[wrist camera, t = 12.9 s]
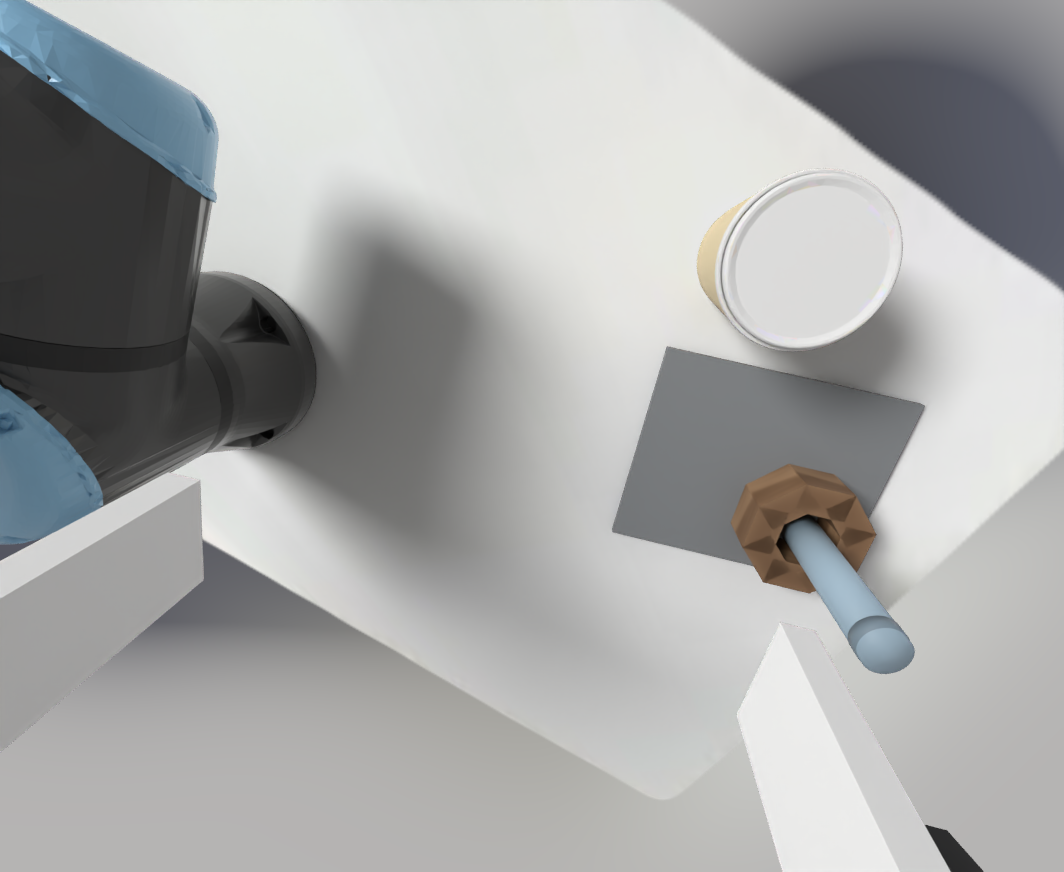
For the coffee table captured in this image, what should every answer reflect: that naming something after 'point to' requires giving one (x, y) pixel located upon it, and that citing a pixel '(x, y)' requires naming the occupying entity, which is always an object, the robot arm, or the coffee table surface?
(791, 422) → the mat
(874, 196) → the coffee cup
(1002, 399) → the coffee table surface
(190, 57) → the coffee table surface
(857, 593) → the blue rounded-end rod
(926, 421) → the coffee table surface
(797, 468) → the bead
